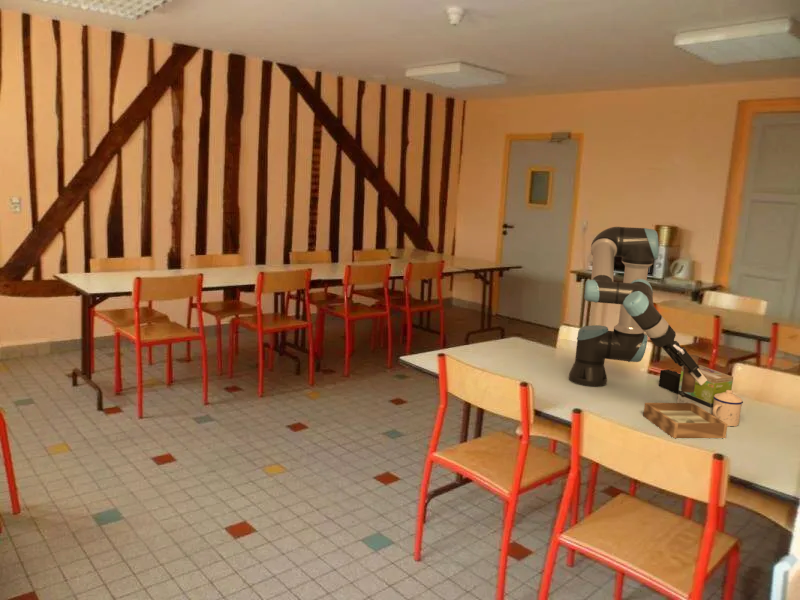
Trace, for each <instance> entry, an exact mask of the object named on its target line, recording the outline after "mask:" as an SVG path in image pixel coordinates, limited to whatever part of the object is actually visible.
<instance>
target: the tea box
mask: <svg viewBox="0 0 800 600" xmlns="http://www.w3.org/2000/svg"><path fill="white" fill-rule="evenodd" d="M698 366H699V368H698V369H699V371H700V372H701V373H702V374H703V375H704V377H705V378H706V379H707V381H706V382H705V383H704V384H702V385H700V384H699V383H698V382H697V381H695V388H694V392H693V393H689V392H684V391H682V390H681V386H682V378H683V371H684V370H683V369H682V368H681V370H680V374H681V377H680V384H679V391H678V394H677V400H676V401H677V402H676V403H693V404H695V405H697V406H698V407H700V408H702V409H703V410H705V411H707V412H708V413H710V414H711V415H712V410H713V403H714V395H715V394H718V393H723V392H726V390H731V391H732V389H733V388H732V387H733V383H734V382H733V381H734V376H732V375H730V374H727V373H724V372H721V371H718V370H715V369H712V368H710V367H707V366H704V365H702V364H698Z"/></svg>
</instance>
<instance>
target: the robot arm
mask: <svg viewBox="0 0 800 600" xmlns="http://www.w3.org/2000/svg"><path fill="white" fill-rule="evenodd" d="M659 247H660V246H659V235H658V232H657V231H656V229H652V228H646V227H631V226H630V227H628V226H627V227H626V226H612V227H609V228H606V229H603V230H602V231H601V232H599V233H598V234H597V235H596V236H595V237H594V239H593V240H592V242H591V246H590V253H591V255H592V265H591V278H590V279H587V280H586V281H585V284H584V295H583V299H584V301H586V302H592V303H595V304H597V303H599V304H600V303H603V304H612V305H613V304H614V305H620V307H619V314H618V315H619V317H618V323H617V324H615V325H614V327H613V330H609V327H608V326H606V325H600V324H599V325H597V324H596V325H595V324H594V325H585V326H582V327H580V328H579V329H578V333H577V337H576V342H577V343H576V349H575V358H574V363H573V366H572V368H571V369H570V371H569V375H568V376H569V377H568V380H569V381H570V382H572V383H574V384H578V385H580V386H585V387H603V386H606V385H607V382H608V375H607V373H606V368H605V360H612V361H613V360H614V361H622V362H623V361H624V362H628V363H631V362H632V363H639V362H641V361H642V360H643V359H644V356H645V354H646V349H647V343H648V338H649V339H650V341H651V342H652V343H653V344H654V346H655V347H658V348H662V349H663V351H665V352H666V354H667V355H668V356H669V357H670V359H671V360H672V361H673V362H674V363H675V364H677V366H679V367H680V368H681V370H682V369H683V370H684V365H685V366H686V367H687V368H688V370H689V371H688V373H689V374H690V373H691V375H692V376H693V377H694V378H695V379H696V381H697V382H698V383H699V384H700V385H702V384H704V383H705V382H706V381H707V379H706V378H705V377H704V375H703V374H702V373H701V372H700V371H699V369H698V368H699V366H698V365H699V364H698V365H697V364H696V363H695V361H694V360H693V359H692V358H691V356H690V355H691V354H689V352H688V351H687V350H686V348H685V346H681V345H680V343H679V341H677V340H675V338H676V336H677V335H676V331H675V330H674V329H673V328H672V326H671V325H670V324H669V322H668V321H667V320H666V319H665V318H664V316H663V315H662V314H661V313H660V312H659V311H658V309H657V308H656V307H655V305H654V299H653V298H654V294H653V293H654V292H653V287H652V286H651V284H650V282H649V281H648V273H649V271H648V270H649V268H650V267H651V266H652V265H654V260H655V261H657V260H658V259H659V249H660V248H659ZM615 257H617V258H618V257H620V258H621V263H622V264H623V265H624V272H623V282H620V281H614V268H615V267H614V265H615Z"/></svg>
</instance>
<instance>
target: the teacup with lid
mask: <svg viewBox="0 0 800 600" xmlns="http://www.w3.org/2000/svg"><path fill="white" fill-rule="evenodd" d="M743 403H744V401H743V399H742V398H741V397H739V396H737V395H736V394H735V393H733V390H732V389H731V390H726V392H723V393H718V394H715V395H714V403H713V410H712V415H713V416H715V417H716V418H718V419H720V420H721V421H723V422H725V423H726V424H728V425H727V427H730V426H734V427H737V425H738V426H739V423H740V419H741V412H742V405H743Z"/></svg>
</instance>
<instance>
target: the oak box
mask: <svg viewBox="0 0 800 600" xmlns="http://www.w3.org/2000/svg"><path fill="white" fill-rule="evenodd" d="M642 416H643V417H644V418H646V420H648V421H649V422H650V423H651V424H653V425H654V424H655V426H656V427H657V428H658V427H659V430H661V431H662V430H663V431H662V432H664V433H665V434H666V433H667V434H666V435H668V436H669V435H670V436H671V438H672V437H673V438H725V439H726V438H727V437H726V436H727V432H728V426H727V425H728V424H726V423H725V422H723V421H721V420H720V419H718V418H716V417H715V416H713V415H711V414H710V413H708V412H707V411H705V410H703V409H702V408H700V407H698V406H697V405H695V404H693V403H677V402H644V408H643V415H642ZM670 436H669V437H670ZM673 438H672V439H673Z"/></svg>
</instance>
